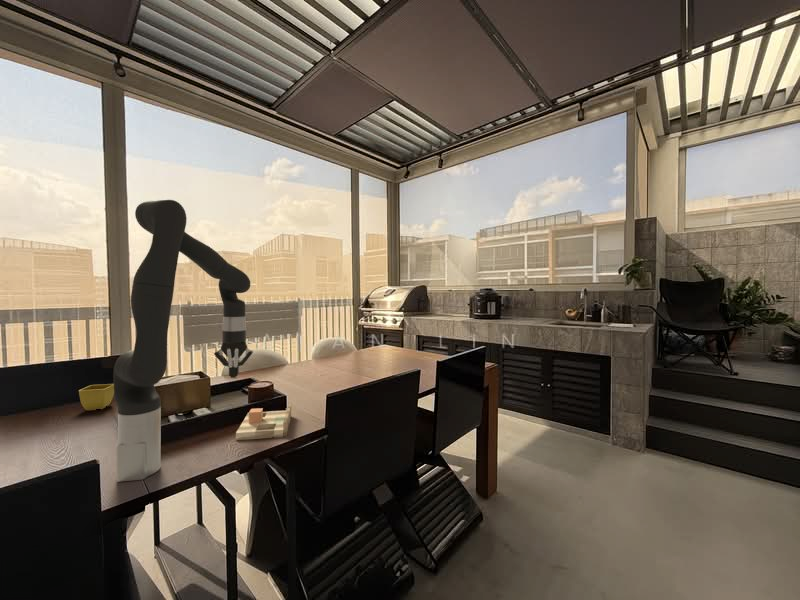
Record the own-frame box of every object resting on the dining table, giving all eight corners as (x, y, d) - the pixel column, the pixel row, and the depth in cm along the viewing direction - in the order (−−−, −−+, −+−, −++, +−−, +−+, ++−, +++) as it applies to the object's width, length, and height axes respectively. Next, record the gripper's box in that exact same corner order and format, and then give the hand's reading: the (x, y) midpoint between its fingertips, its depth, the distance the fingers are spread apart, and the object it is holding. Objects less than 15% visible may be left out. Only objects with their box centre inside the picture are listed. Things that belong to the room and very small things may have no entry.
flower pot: (90, 405, 141) (90, 384, 141) (115, 404, 144) (115, 383, 144) (78, 413, 133) (78, 390, 133) (104, 411, 135) (104, 389, 135)
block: (260, 422, 120) (260, 411, 120) (248, 423, 119) (248, 412, 119) (262, 418, 124) (262, 408, 124) (251, 419, 123) (251, 408, 123)
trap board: (286, 436, 115) (286, 422, 115) (235, 440, 112) (236, 425, 111) (291, 416, 134) (291, 404, 134) (248, 419, 130) (248, 406, 130)
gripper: (210, 330, 114) (210, 380, 114) (252, 330, 117) (251, 379, 117) (217, 328, 121) (216, 375, 122) (256, 327, 124) (255, 374, 125)
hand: (233, 377), depth 120 cm, fingers closed
